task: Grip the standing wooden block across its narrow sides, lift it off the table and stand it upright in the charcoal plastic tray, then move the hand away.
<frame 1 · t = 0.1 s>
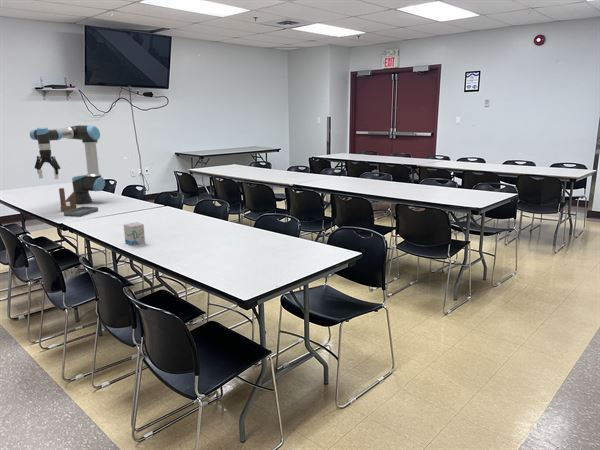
hand: (48, 178, 337), 28 cm above the table, tool pointing down, fingers open, 13 cm apart
tray: (81, 213, 352), on the table
wooden block: (68, 210, 362), on the table
ink box: (135, 243, 273), on the table
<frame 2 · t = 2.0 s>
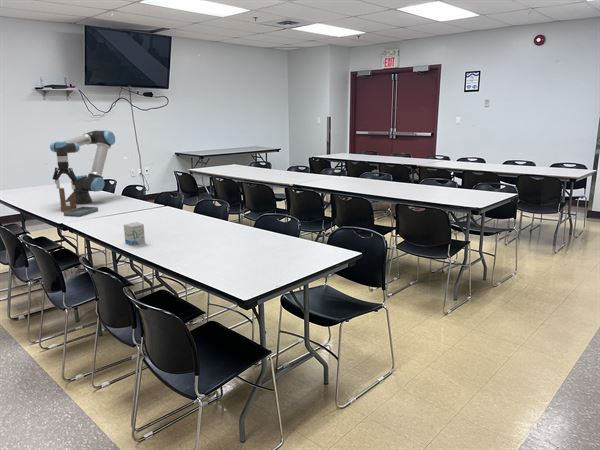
hand: (65, 188, 358), 17 cm above the table, tool pointing down, fingers open, 13 cm apart
nothing on the table moved.
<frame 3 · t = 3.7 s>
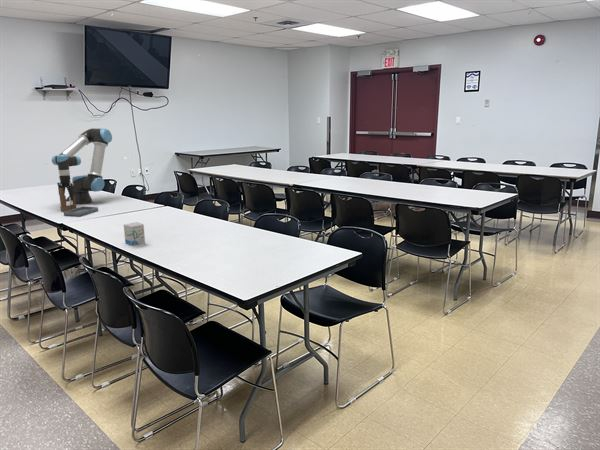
hand: (68, 204, 361), 5 cm above the table, tool pointing down, fingers closed on wooden block, 5 cm apart
wooden block: (68, 210, 362), on the table, touching gripper
everything else where it was.
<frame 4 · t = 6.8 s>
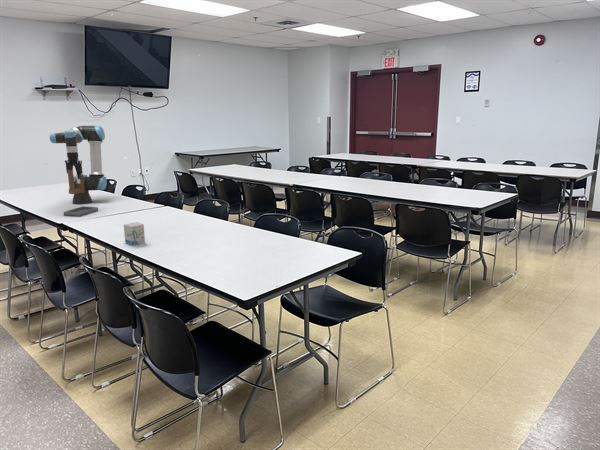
hand: (75, 183, 347), 23 cm above the table, tool pointing down, fingers closed on wooden block, 5 cm apart
wooden block: (77, 193, 349), point 15 cm above the table, touching gripper
everything else where it was.
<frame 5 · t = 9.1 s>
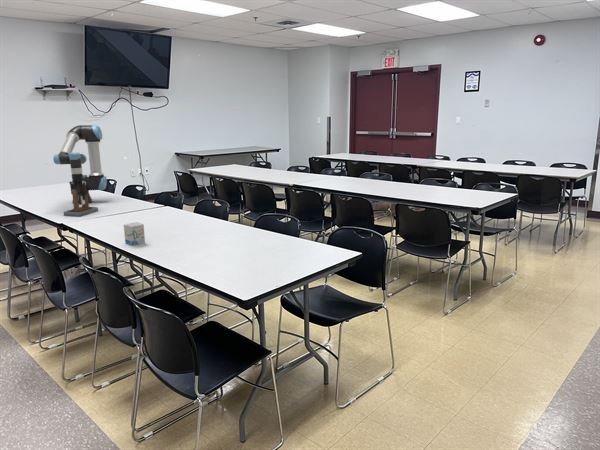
hand: (80, 203, 350), 7 cm above the table, tool pointing down, fingers closed on wooden block, 5 cm apart
wooden block: (81, 212, 352), point 1 cm above the table, touching gripper, tray
everything else where it was.
when the fingers open (7 cm above the table, at t = 9.1 s): wooden block stays where it is, resting on tray.
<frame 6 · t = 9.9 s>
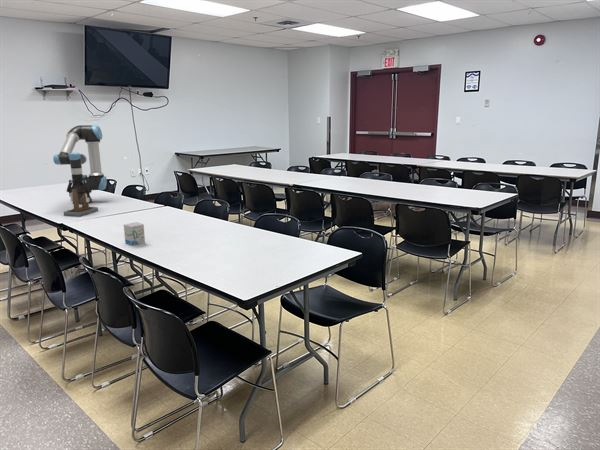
hand: (80, 201, 350), 9 cm above the table, tool pointing down, fingers open, 13 cm apart
wooden block: (81, 212, 352), point 1 cm above the table, touching tray
everything else where it was.
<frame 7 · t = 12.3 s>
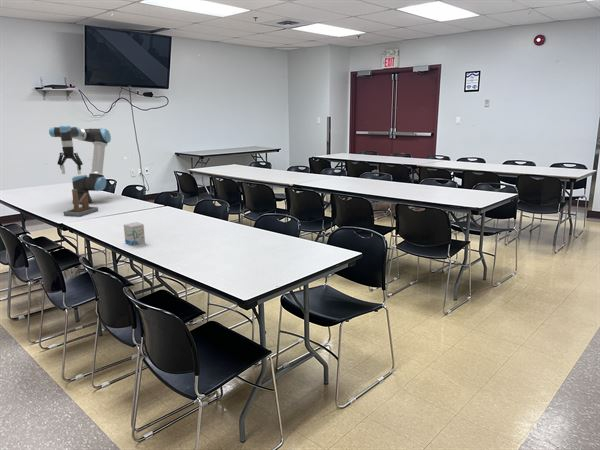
hand: (71, 174, 354), 29 cm above the table, tool pointing down, fingers open, 13 cm apart
nothing on the table moved.
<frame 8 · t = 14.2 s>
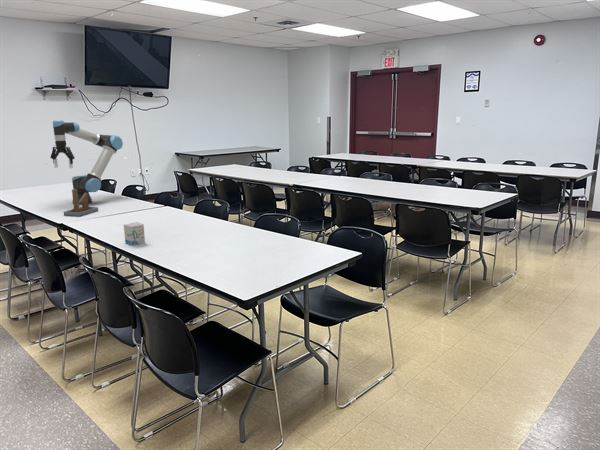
hand: (63, 167, 361), 33 cm above the table, tool pointing down, fingers open, 13 cm apart
nothing on the table moved.
at the end: wooden block inside the target area on the tray (0.2 cm from its centre), point 0.8 cm above the tray's base; wooden block tilted 0°; the gripper is holding nothing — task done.
